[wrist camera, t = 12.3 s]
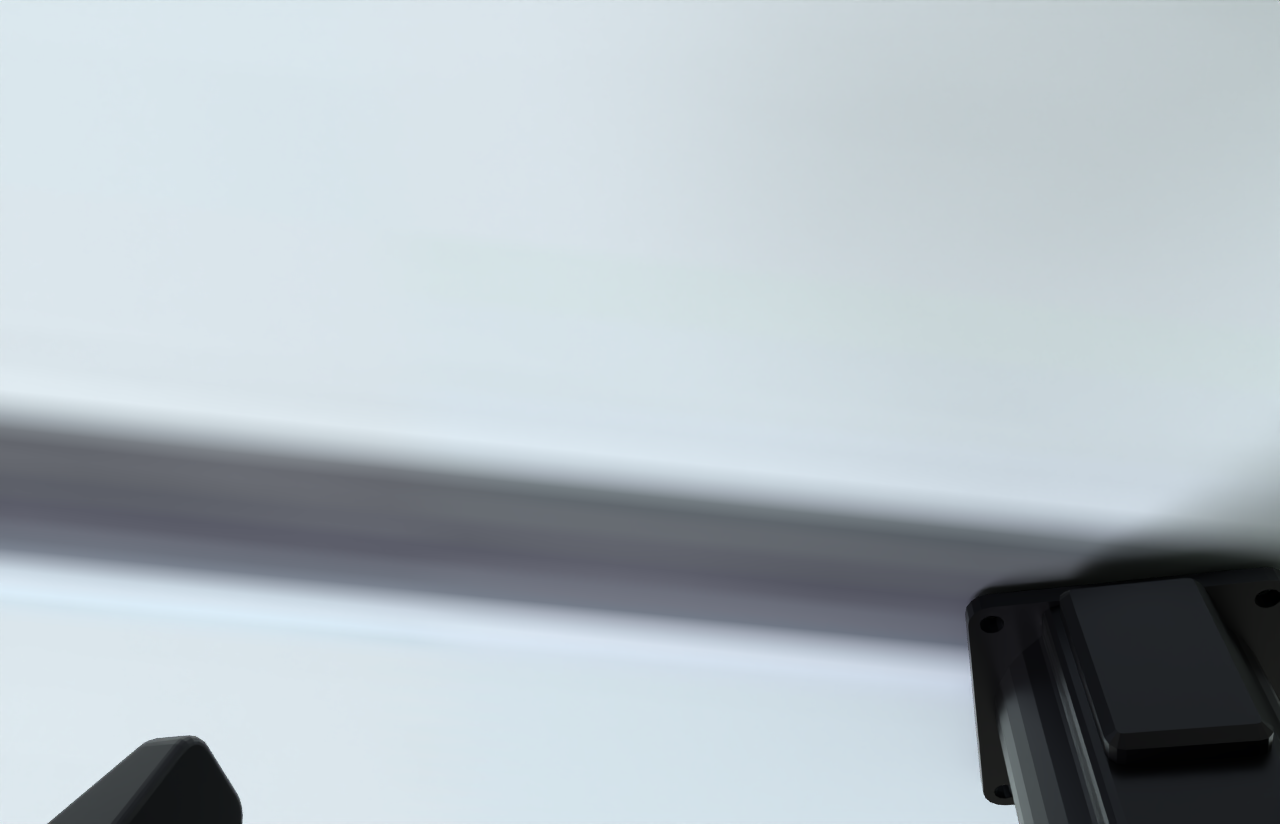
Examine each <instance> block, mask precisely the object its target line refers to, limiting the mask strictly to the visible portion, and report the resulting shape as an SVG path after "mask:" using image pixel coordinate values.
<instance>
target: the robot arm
mask: <svg viewBox="0 0 1280 824" xmlns="http://www.w3.org/2000/svg"><path fill="white" fill-rule="evenodd" d="M1267 589H1271V590H1270V591H1269V592H1267V593H1265V594H1261V595H1257V594H1259V593H1260V592H1261V591H1264V590H1267ZM965 616H966V627H967V638H968V648H969V659H970V669H971V680H972V691H973V701H974V712H975V723H976V733H977V744H978V754H979V765H980V776H981V783H982V788H983V793H984V795H985V798H986V799H987V800H989V801H990V802H992V803H995V804H997V805H1015V808H1016V812H1017V816H1018V821H1019V824H1280V571H1279V570H1277V569H1274V568H1265V567H1261V568H1251V569H1241V570H1231V571H1221V572H1211V573H1201V574H1191V575H1181V576H1171V577H1160V578H1150V579H1140V580H1130V581H1120V582H1110V583H1100V584H1090V585H1080V586H1070V587H1060V588H1050V589H1040V590H1030V591H1020V592H1010V593H1000V594H989V595H984V596H980V597H977V598H976V599H974V600H973V601H971V602H970V603H969V605H968V606H967V607H966V613H965ZM988 616H998V617H997V618H996V619H993V620H983V619H984V618H985V617H988ZM242 818H243V814H242V806H241V802H240V798H239V796H238V794H237V793H236V791H235V789H234V788H233V786H232V784H231V783H230V781H229V780H228V778H227V776H226V775H225V773H224V772H223V770H222V768H221V767H220V765H219V764H218V762H217V760H216V759H215V757H214V755H213V754H212V752H211V751H210V749H209V747H208V746H207V745H206V743H205V742H204V741H203V740H201V739H199V738H198V737H196V736H190V735H189V736H177V737H166V738H156V739H153V740H149V741H147V742H145V743H144V744H142V745H141V746H140V747H138V748H137V749H136V750H135V751H134V752H132V753H131V754H130V755H129V756H128V757H126V758H125V759H124V760H123V761H122V762H120V763H119V764H118V765H117V766H116V767H114V768H113V769H112V770H111V771H110V772H108V773H107V774H106V775H105V776H104V777H103V778H101V779H100V780H99V781H98V782H97V783H95V784H94V785H93V786H92V787H91V788H89V789H88V790H87V791H86V792H85V793H83V794H82V795H81V796H80V797H79V798H77V799H76V800H75V801H74V802H73V803H72V804H70V805H69V806H68V807H67V808H66V809H64V810H63V811H62V812H61V813H60V814H58V815H57V816H56V817H55V818H54V819H52V820H51V821H50V822H49V823H48V824H242Z"/></svg>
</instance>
